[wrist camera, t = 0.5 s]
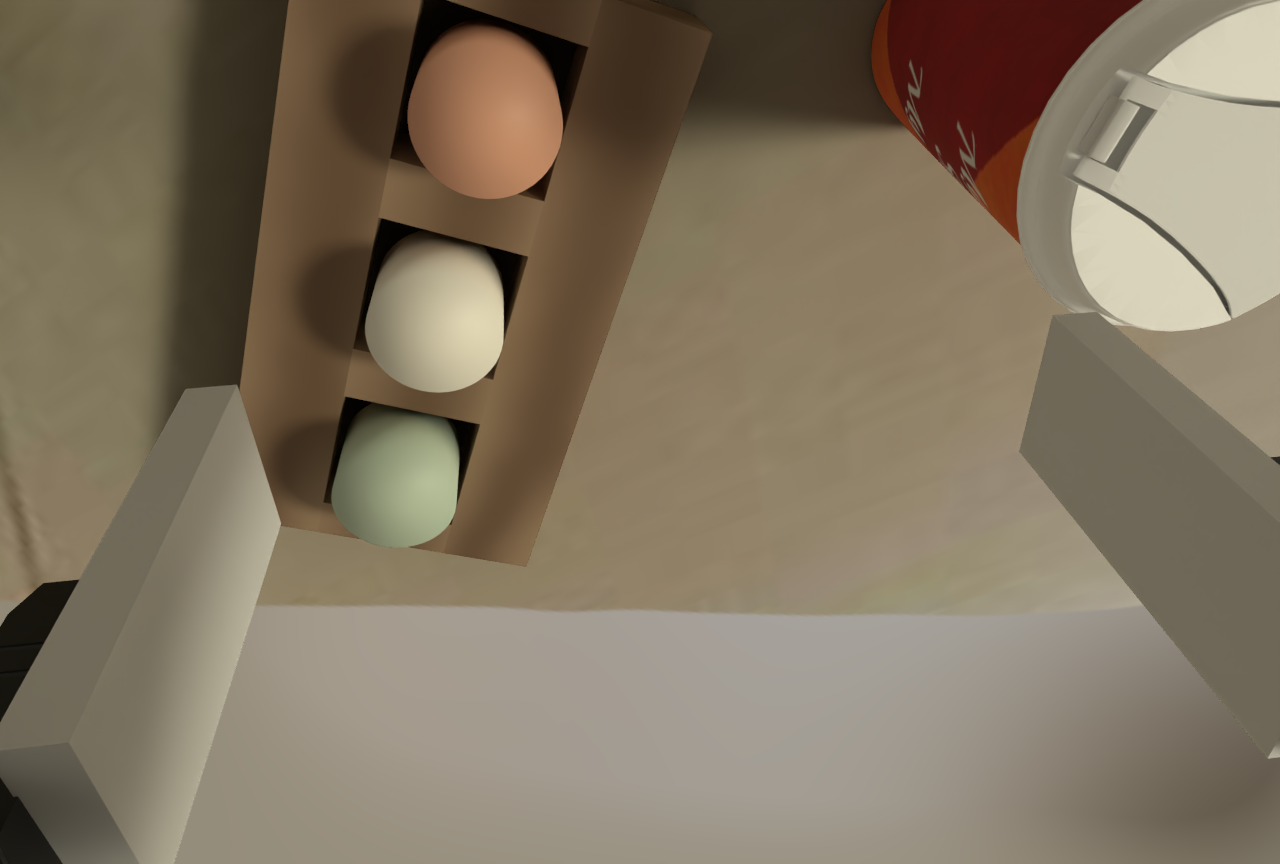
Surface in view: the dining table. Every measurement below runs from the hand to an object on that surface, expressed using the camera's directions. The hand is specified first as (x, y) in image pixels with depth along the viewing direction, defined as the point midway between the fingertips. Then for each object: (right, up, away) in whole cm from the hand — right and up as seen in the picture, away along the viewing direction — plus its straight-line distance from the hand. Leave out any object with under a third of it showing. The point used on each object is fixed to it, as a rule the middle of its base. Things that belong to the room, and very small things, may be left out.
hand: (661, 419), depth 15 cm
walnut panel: (-8, +6, +19) cm, 21 cm away
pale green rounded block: (-10, -1, +21) cm, 23 cm away
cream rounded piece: (-7, +5, +18) cm, 20 cm away
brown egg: (-5, +11, +14) cm, 19 cm away
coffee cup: (+11, +13, +17) cm, 24 cm away
